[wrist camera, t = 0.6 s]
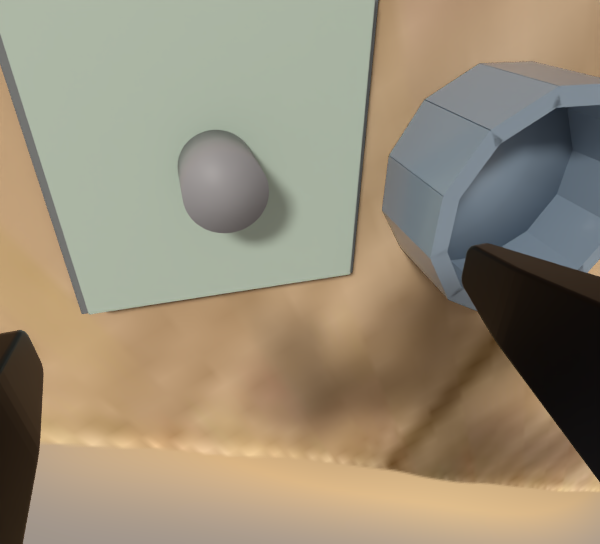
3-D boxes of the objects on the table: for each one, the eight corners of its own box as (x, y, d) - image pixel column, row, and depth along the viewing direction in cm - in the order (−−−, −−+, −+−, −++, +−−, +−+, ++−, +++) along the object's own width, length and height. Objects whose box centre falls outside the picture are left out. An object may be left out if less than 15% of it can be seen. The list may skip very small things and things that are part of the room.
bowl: (600, 59, 22) (698, 78, 18) (533, 248, 29) (596, 293, 25) (400, 66, 20) (464, 90, 16) (374, 273, 26) (415, 328, 22)
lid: (367, -15, 17) (411, -12, 15) (344, 266, 25) (370, 305, 22) (-9, -19, 14) (-48, -16, 11) (90, 304, 22) (82, 355, 19)
